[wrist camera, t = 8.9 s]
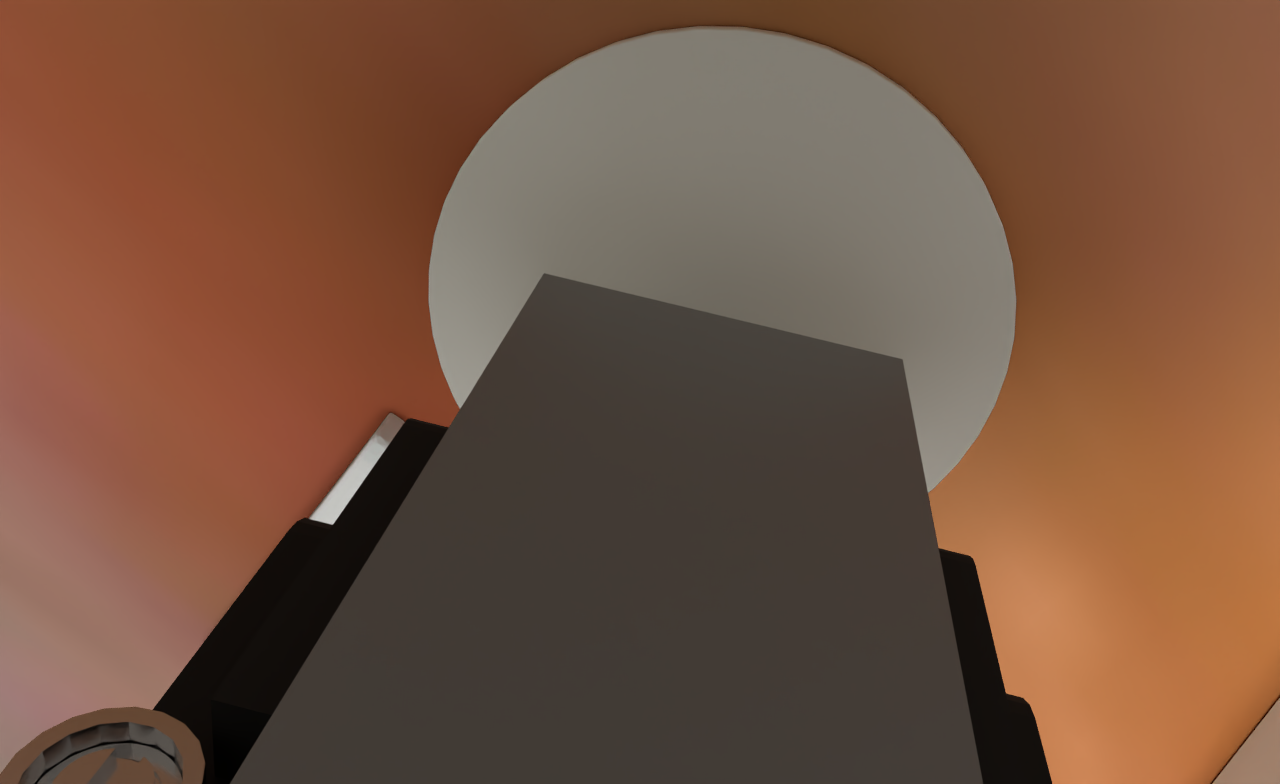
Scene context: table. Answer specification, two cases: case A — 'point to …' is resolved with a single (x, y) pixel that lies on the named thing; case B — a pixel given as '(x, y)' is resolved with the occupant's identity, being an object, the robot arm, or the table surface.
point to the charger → (647, 574)
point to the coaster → (739, 213)
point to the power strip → (1257, 755)
